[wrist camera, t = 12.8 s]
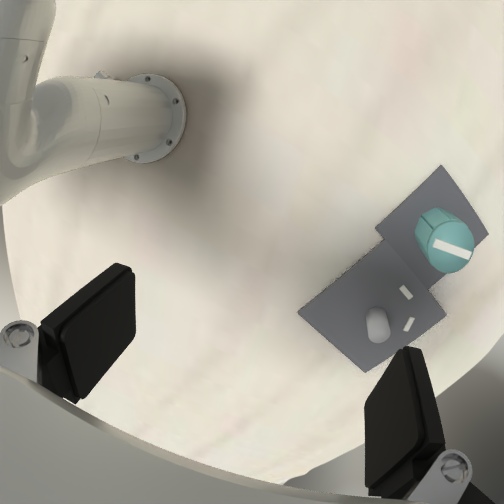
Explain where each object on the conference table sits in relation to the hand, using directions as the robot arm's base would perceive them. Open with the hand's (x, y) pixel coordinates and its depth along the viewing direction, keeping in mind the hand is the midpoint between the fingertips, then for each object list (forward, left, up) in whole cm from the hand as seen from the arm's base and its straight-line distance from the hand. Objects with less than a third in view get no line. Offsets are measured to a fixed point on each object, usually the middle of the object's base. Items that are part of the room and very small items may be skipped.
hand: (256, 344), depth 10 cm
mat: (+16, +8, -30) cm, 35 cm away
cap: (+16, +8, -30) cm, 35 cm away
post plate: (+20, -6, -30) cm, 37 cm away
